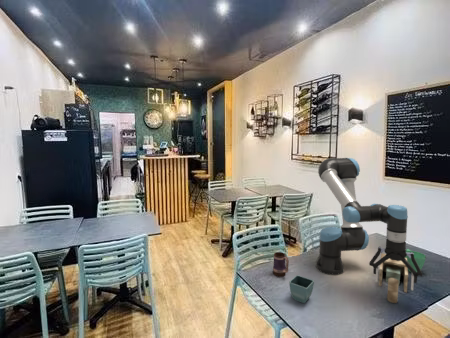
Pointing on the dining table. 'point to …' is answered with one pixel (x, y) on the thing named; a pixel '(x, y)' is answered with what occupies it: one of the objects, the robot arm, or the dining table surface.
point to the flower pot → (301, 288)
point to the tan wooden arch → (394, 264)
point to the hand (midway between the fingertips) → (393, 284)
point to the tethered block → (392, 283)
